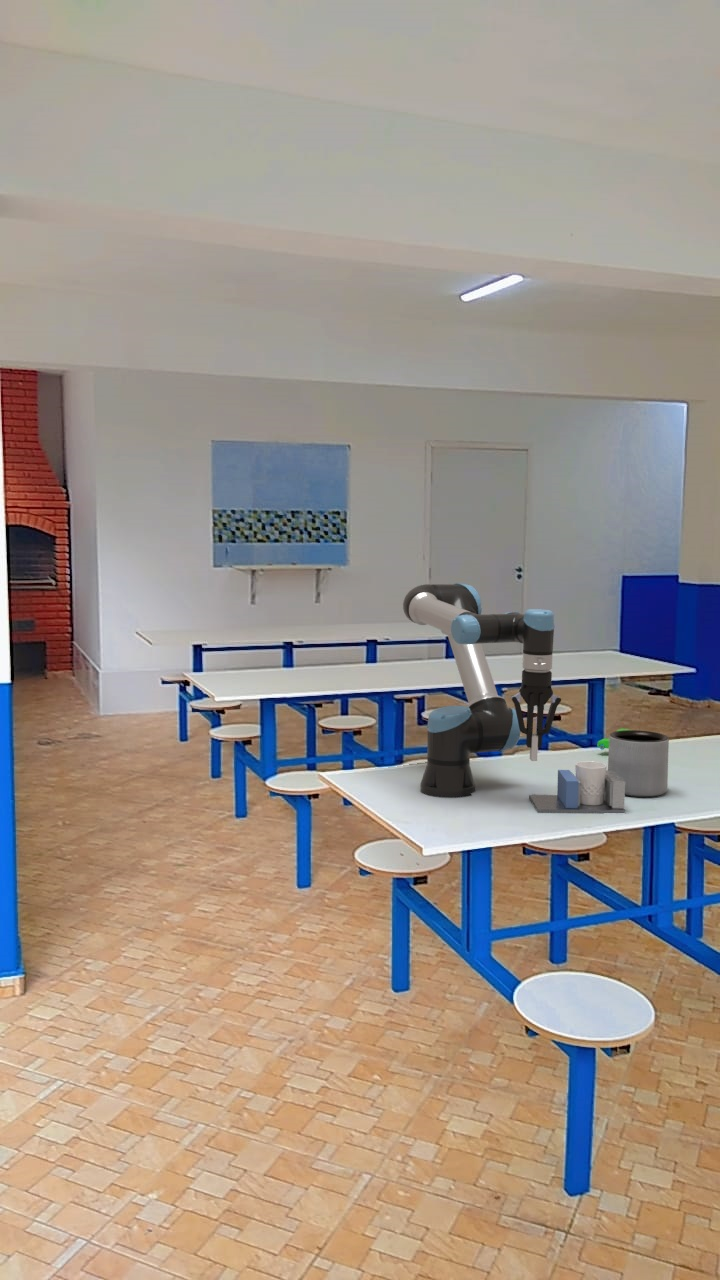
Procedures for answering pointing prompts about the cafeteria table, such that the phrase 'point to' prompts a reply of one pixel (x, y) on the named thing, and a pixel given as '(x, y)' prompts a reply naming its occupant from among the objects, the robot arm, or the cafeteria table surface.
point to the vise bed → (556, 806)
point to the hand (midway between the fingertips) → (533, 759)
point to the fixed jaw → (614, 790)
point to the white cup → (591, 781)
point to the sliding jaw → (568, 789)
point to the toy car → (606, 742)
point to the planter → (640, 761)
